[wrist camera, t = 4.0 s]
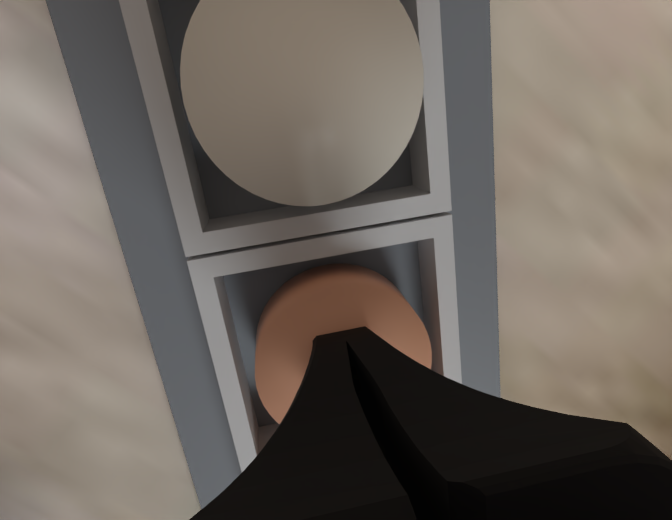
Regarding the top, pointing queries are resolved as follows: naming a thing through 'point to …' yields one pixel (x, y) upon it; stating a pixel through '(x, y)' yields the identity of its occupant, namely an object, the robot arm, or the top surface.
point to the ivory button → (302, 93)
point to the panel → (281, 217)
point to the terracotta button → (328, 325)
